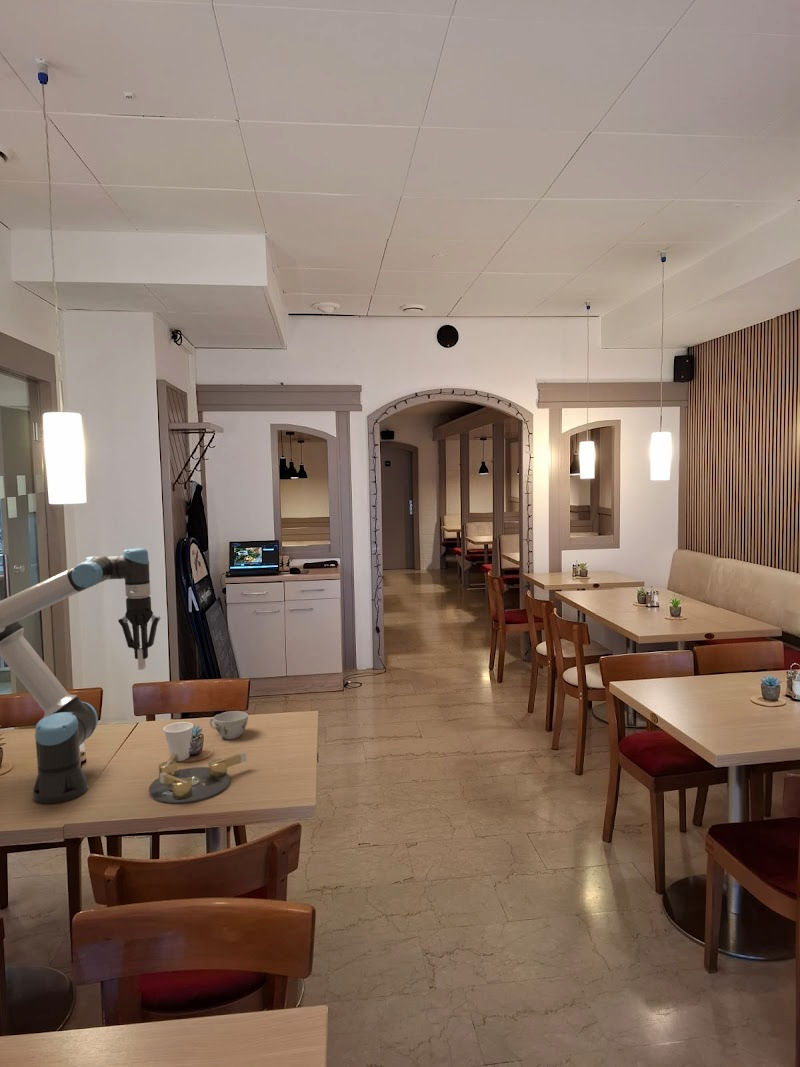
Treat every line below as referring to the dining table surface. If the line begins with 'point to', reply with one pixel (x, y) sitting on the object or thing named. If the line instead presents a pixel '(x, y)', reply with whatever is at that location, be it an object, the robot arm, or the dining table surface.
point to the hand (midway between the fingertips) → (142, 668)
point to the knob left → (170, 765)
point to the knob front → (177, 785)
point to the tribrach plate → (200, 786)
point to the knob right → (224, 765)
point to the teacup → (230, 723)
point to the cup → (179, 738)
